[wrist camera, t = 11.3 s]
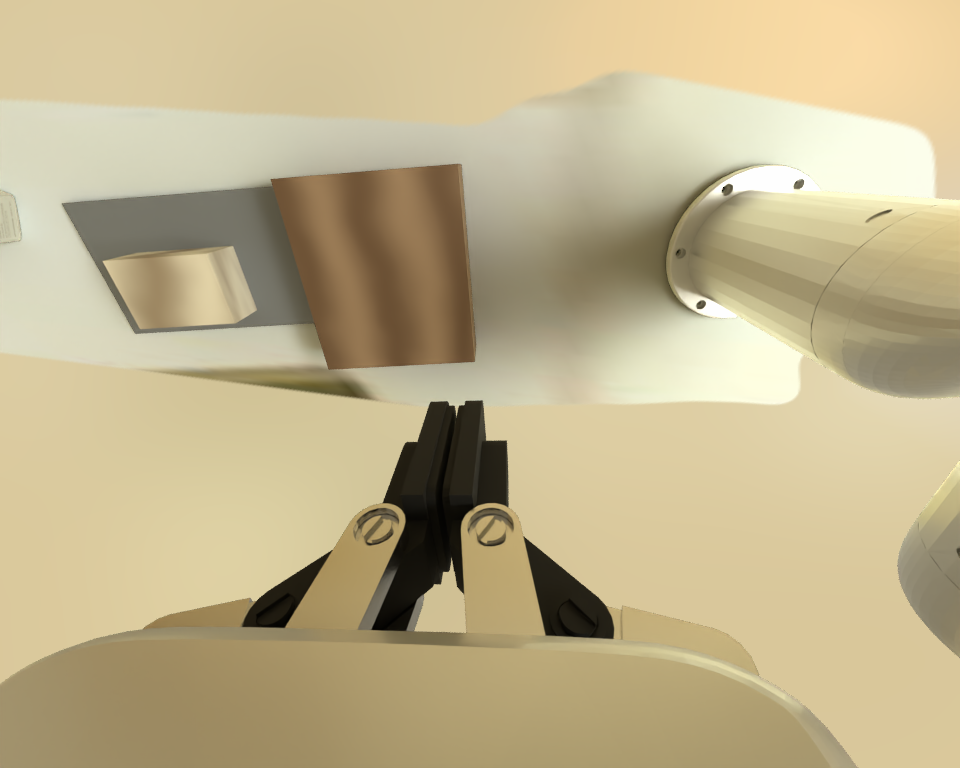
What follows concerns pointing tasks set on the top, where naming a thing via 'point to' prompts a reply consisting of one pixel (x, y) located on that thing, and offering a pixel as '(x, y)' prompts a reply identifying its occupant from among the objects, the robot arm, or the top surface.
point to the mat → (202, 244)
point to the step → (383, 264)
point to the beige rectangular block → (183, 287)
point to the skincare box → (9, 219)
